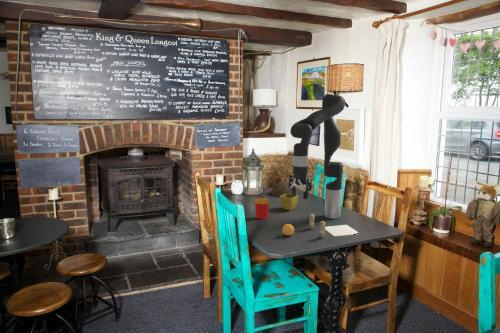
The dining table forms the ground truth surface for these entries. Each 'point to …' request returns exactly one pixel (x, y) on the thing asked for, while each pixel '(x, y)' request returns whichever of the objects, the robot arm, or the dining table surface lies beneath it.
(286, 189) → the decorative dome
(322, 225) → the right post
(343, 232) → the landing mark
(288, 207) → the flower pot
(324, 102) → the robot arm
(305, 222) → the dining table surface
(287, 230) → the ball
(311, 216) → the left post
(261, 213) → the french fries
